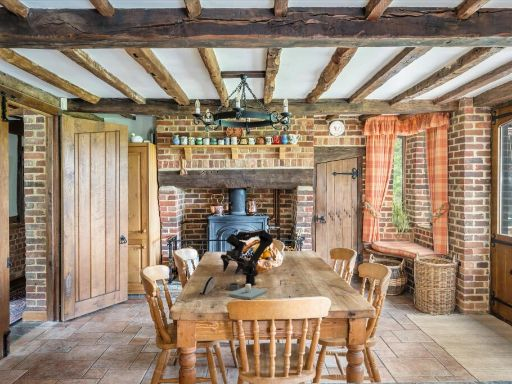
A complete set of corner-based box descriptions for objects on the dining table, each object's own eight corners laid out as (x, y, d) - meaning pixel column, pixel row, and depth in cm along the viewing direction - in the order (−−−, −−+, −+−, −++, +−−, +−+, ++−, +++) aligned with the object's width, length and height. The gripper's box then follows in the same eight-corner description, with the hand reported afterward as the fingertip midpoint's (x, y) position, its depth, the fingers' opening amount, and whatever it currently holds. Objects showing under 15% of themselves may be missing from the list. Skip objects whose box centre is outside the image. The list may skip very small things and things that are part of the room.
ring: (232, 286, 266) (232, 282, 266) (241, 288, 262) (241, 283, 262) (225, 289, 260) (225, 284, 260) (235, 290, 256) (234, 286, 256)
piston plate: (245, 289, 260) (245, 279, 259) (266, 292, 251) (266, 283, 251) (228, 295, 244) (228, 286, 244) (250, 300, 236) (250, 289, 236)
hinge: (206, 287, 265) (211, 272, 265) (212, 289, 265) (217, 275, 264) (198, 294, 249) (203, 279, 248) (205, 297, 248) (210, 281, 247)
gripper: (220, 242, 261) (211, 265, 255) (244, 247, 251) (235, 271, 245) (228, 249, 270) (220, 271, 264) (252, 253, 259) (244, 277, 254)
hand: (229, 272), depth 256 cm, fingers open, 9 cm apart
